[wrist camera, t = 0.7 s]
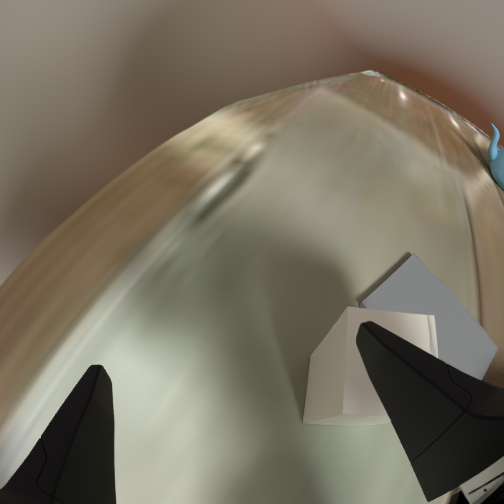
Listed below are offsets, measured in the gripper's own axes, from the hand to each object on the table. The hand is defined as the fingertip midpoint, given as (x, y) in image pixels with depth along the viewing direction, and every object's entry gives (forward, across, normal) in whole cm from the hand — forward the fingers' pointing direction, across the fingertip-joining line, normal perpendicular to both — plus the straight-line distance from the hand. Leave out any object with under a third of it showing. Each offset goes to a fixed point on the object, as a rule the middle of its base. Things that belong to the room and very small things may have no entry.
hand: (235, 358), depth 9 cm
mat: (+7, -21, +12) cm, 25 cm away
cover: (+5, -9, +14) cm, 17 cm away
